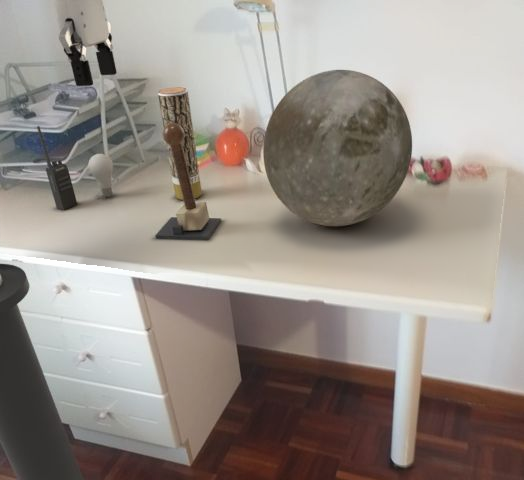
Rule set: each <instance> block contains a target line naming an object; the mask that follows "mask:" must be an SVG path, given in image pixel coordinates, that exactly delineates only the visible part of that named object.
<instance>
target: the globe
mask: <svg viewBox="0 0 524 480" xmlns="http://www.w3.org/2000/svg"><path fill="white" fill-rule="evenodd" d="M262 152H263V153H262V154H263V166H264V170H265V173H266V177H267V180H268V182H269V185H270V187H271V189H272V190H273V192H274V194H275V196H276V197H277V198H278V199H279V201H280V202H281V203H282V204H283V205H284V206H285V207H286V208H287V209H288V210H289V211H290V212H292V214H294V215H296V216H297V217H299V218H301V219H303V220H305V221H307V222H308V223H312V224H314V225H319V226H325V227H345V226H350V225H354V224H357V223H360V222H363V221H365V220H367V219H369V218H371V217H373V216H374V215H376V214H377V213H379V212H380V211H382V210H383V209H384V208H385V207H386V206H387V205H388V204H389V203H391V201H392V200H393V199H394V197H395V196H396V195H397V194H398V192H399V190H400V189H401V187H402V186H403V183H404V181H405V180H406V177H407V174H408V172H409V169H410V165H411V161H412V156H413V155H412V153H413V135H412V129H411V124H410V120H409V117H408V115H407V113H406V110H405V108H404V107H403V105H402V103H401V101H400V100H399V98H398V97H397V96H396V95H395V93H394V92H393V91H391V89H390V88H389V87H388V86H387V85H385V84H384V83H383V82H382V81H379V80H378V79H376V78H375V77H374V76H371V75H369V74H366V73H363V72H360V71H356V70H352V69H351V70H350V69H331V70H326V71H321V72H318V73H316V74H312V75H311V76H309V77H306V78H305V79H303V80H302V81H300V82H298V83H297V84H296V85H294V86H292V87H291V88H290V89H289V90H288V91H287V92H286V94H285V95H284V96H283V97H282V98H281V99H280V101H279V102H278V103H277V104H276V106H275V108H274V110H273V111H272V113H271V115H270V118H269V120H268V122H267V126H266V129H265V133H264V138H263V147H262Z"/></svg>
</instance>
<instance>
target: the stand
mask: <svg viewBox="0 0 524 480" xmlns="http://www.w3.org/2000/svg"><path fill="white" fill-rule="evenodd" d="M209 218H210V219H209V220H208V222H207V223H206V224H205V226H204V227H203V228H202V230H189V231H183V226H182V225H179V224H178V220H177V216H176V217H175V216H171V217H170V218H169V219H168V220H167V222H166V223H164V225H163V226H162V227H161V228H160V229H159V230H158V232H156V234H155V239H159V240H160V239H161V240H187V241H188V240H190V241H208V240H209V239H210V237H212V235H213V233H214V232H215V231H216V229H217V228H218V226H219V225H220V224H221V222H222V218H221V217H209Z"/></svg>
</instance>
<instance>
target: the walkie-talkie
mask: <svg viewBox="0 0 524 480" xmlns="http://www.w3.org/2000/svg"><path fill="white" fill-rule="evenodd" d="M36 128H37V132H38V136H39V140H40V144H41V148H42V151H43V154H44V157H45V161H46V166H47V167H46V168H45V172H46V176H47V179H48V182H49V186H50V189H51V193H52V196H53V201H54V203H55V207H56V209H57V210H58V209H59V210H63V211H66V210H69V209H70V208H73V207H75V206H77V205H78V200H77V197H76V194H75V190H74V186H73V183H72V178H71V175H70V171H69V168H68V166H67V164H65V163H63V161H62V159H61V158H60V159H57V160H56V159H52V160H50V156H49V152H48V149H47V146H46V143H45V140H44V137H43V133H42V131H41V127H40V125H36Z"/></svg>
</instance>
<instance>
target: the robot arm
mask: <svg viewBox="0 0 524 480" xmlns="http://www.w3.org/2000/svg"><path fill="white" fill-rule="evenodd" d="M53 6H54V12H55V16H56V22H57V27H58V32H59V35H58V40H59V42H60V44H61V46H62V47H63V52H64V54H65V55H66V56H67V61H68V62H69V63H70V66H71V71H72V74H73V78H74V83H75V86H77V87H92V86H93V85H94V81H93V75H92V71H91V67H90V63H89V60H88V59H86V57H87V56H86V55H87V50H88V49H87V48H89V47H92V46H94V47H95V49H96V50H97V51H95V56H96V60H97V65H98V69H99V74H100V75H101V76H115V75H117V73H118V72H117V68H116V62H115V58H114V52H113V50H114V47H113V44H112V40H113V36H112V25H111V22H110V20H108V18H107V14H106V11H105V6H104V2H103V0H53ZM1 284H2V277H1V275H0V286H1Z"/></svg>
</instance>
